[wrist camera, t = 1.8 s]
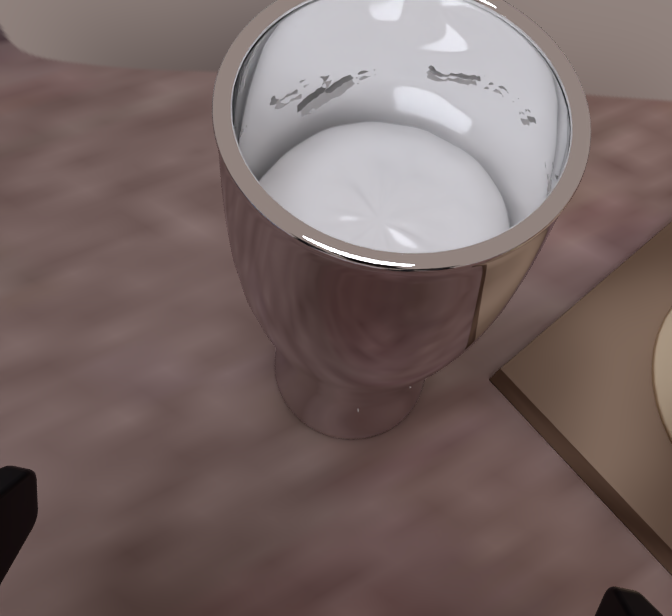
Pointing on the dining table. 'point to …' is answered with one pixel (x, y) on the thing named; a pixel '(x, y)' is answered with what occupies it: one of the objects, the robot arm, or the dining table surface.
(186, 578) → the dining table surface
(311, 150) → the beer glass
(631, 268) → the walnut board
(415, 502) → the dining table surface
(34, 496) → the robot arm
